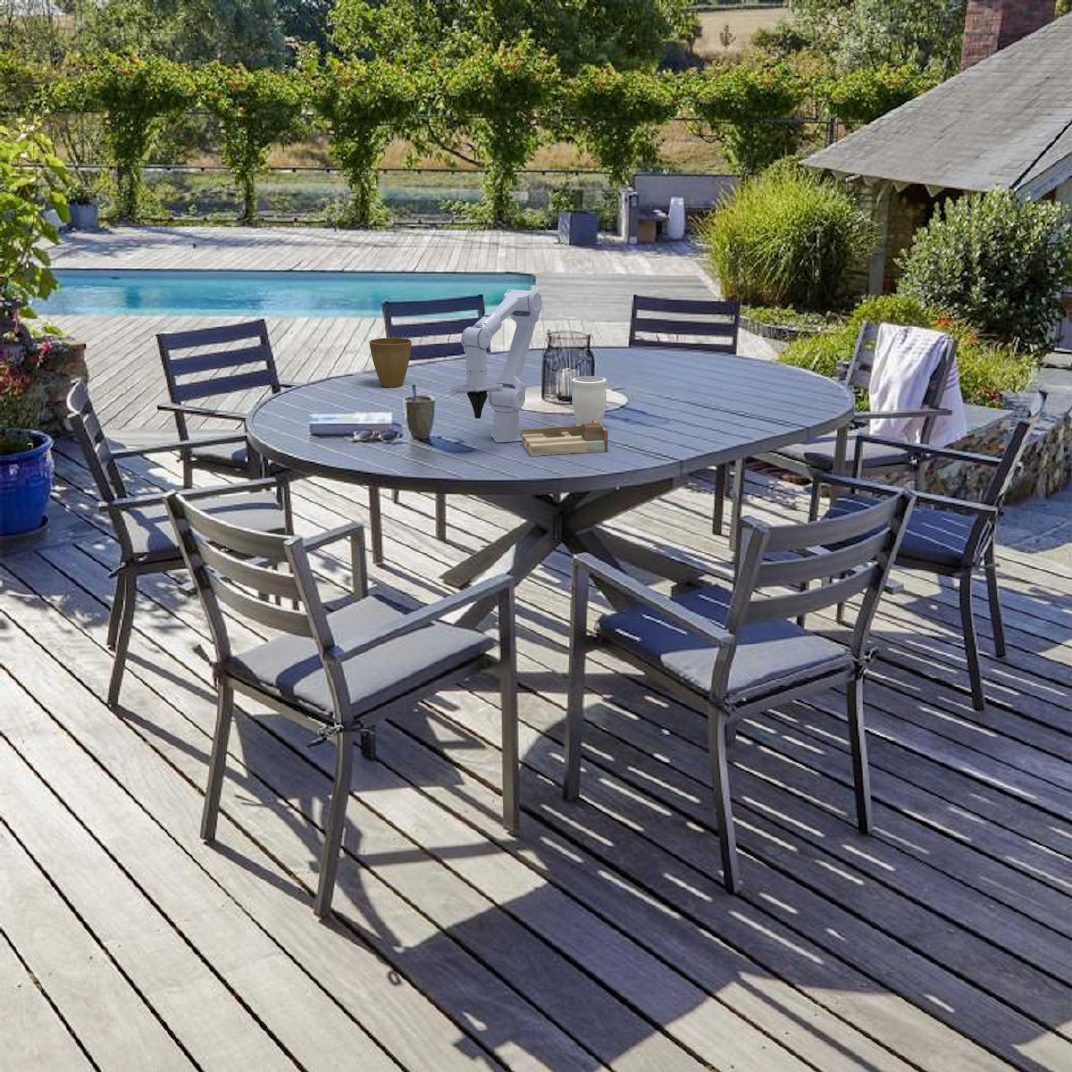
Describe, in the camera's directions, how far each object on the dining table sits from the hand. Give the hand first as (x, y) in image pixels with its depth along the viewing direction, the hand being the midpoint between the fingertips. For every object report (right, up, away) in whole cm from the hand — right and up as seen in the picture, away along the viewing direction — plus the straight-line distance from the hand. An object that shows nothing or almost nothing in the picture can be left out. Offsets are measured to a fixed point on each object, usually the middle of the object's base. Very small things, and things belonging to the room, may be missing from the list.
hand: (477, 417), depth 356 cm
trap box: (+25, -8, +4) cm, 26 cm away
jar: (+33, -1, +27) cm, 43 cm away
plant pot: (-34, +20, +90) cm, 98 cm away
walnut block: (+33, -6, +2) cm, 33 cm away
